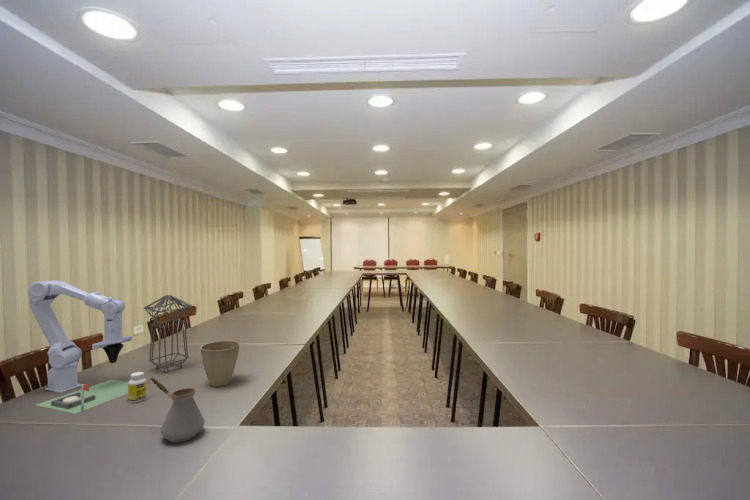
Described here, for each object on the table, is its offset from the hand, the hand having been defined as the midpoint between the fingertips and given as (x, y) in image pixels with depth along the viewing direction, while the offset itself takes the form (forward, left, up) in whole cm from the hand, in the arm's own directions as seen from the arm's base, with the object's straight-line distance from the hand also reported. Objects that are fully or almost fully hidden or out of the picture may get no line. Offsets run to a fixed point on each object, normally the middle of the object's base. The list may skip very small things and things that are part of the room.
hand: (112, 362), depth 141 cm
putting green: (+4, -9, -9) cm, 14 cm away
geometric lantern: (+4, +22, -10) cm, 24 cm away
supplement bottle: (+23, -7, -10) cm, 26 cm away
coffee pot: (+55, -20, -10) cm, 59 cm away
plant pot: (+40, +16, -10) cm, 44 cm away
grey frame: (+8, -16, -9) cm, 20 cm away
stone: (+4, -18, -9) cm, 20 cm away
